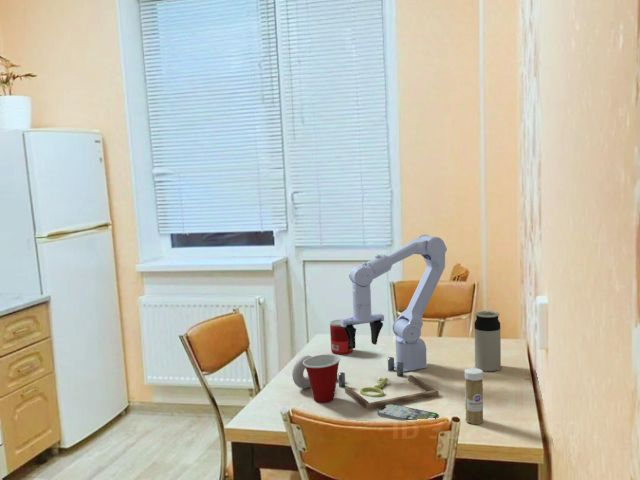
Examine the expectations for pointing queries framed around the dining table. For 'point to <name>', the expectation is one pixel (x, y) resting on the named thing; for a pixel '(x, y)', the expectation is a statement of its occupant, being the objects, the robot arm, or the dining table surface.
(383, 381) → the key
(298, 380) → the donut
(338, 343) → the canned food
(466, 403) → the sprinkles bottle
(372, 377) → the dining table surface
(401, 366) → the spacers
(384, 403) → the bay
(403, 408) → the smartphone
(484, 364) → the travel mug
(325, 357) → the plastic cup
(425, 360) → the robot arm
